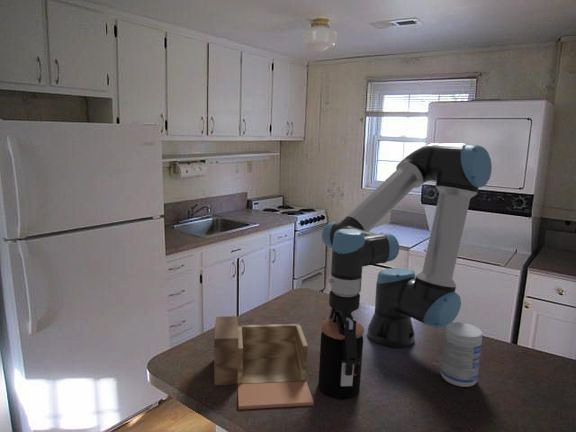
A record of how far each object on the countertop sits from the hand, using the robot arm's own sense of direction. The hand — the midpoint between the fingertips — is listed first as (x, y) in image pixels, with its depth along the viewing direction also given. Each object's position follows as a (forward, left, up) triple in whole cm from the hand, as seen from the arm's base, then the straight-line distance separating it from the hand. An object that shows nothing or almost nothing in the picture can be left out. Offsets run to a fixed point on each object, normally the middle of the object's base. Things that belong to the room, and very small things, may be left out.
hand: (339, 370), depth 109 cm
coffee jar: (0, 0, -6) cm, 6 cm away
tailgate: (+17, -3, -5) cm, 18 cm away
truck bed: (+20, -10, -6) cm, 23 cm away
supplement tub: (-35, -3, -6) cm, 36 cm away
